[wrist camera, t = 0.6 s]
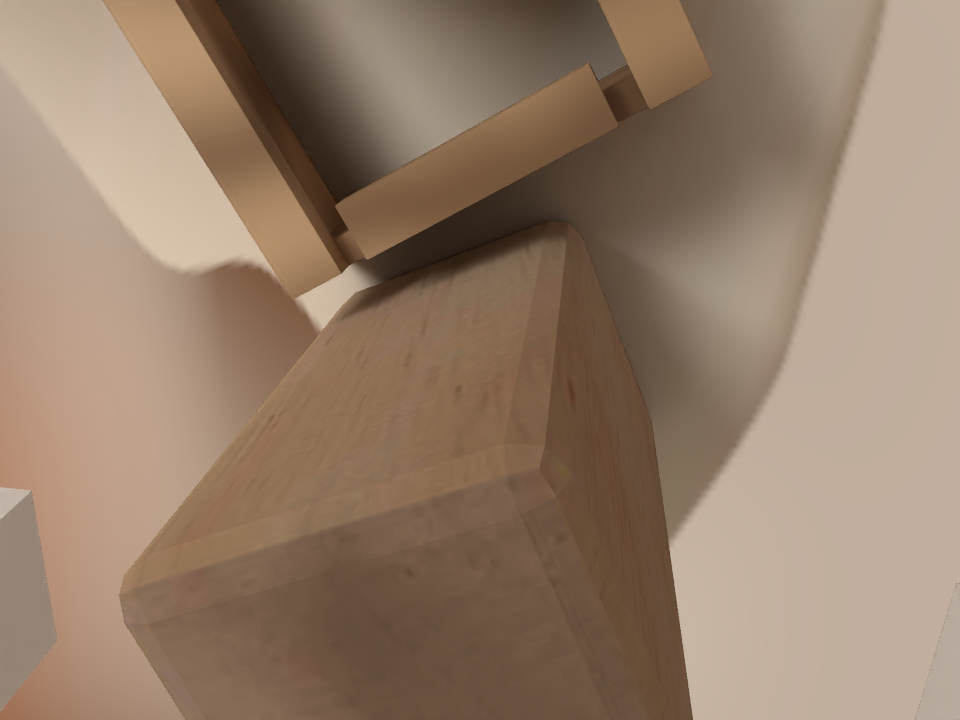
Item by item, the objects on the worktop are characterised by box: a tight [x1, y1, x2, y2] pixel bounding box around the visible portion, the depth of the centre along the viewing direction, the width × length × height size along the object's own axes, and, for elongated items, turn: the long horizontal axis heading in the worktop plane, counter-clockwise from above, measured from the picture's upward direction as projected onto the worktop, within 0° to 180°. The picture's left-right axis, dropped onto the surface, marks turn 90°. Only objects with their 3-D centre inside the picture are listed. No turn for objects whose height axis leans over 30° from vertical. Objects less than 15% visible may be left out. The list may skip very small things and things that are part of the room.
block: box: [119, 221, 693, 720], centre depth 28 cm, size 10×10×20 cm
